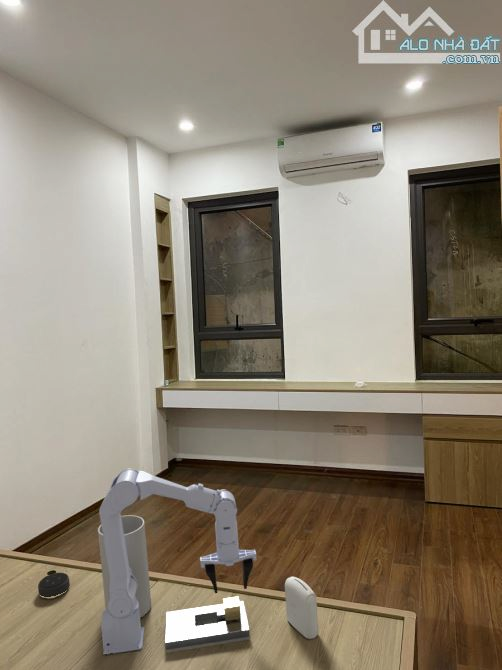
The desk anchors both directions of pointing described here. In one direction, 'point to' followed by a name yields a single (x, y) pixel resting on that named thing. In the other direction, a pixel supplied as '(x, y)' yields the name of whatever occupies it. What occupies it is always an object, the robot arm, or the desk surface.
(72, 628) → the desk surface
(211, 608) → the keyhole plate
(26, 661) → the desk surface
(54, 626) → the desk surface
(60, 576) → the smart speaker
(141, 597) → the cylinder vase
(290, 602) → the photo printer
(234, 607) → the brass peg
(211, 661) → the desk surface
